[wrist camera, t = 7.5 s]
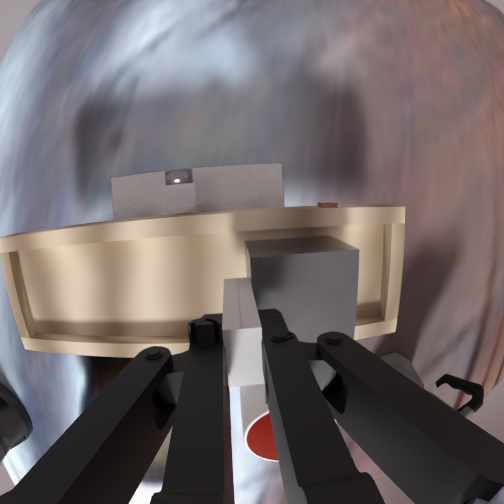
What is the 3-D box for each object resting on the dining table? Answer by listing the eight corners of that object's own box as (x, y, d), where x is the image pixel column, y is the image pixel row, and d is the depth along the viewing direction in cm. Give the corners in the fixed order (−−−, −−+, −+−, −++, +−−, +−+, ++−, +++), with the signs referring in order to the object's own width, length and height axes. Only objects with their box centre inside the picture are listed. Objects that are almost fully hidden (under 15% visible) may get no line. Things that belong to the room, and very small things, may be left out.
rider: (249, 322, 21) (255, 358, 16) (244, 240, 20) (250, 257, 15) (328, 313, 21) (353, 345, 17) (329, 235, 20) (359, 249, 15)
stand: (135, 330, 33) (104, 382, 22) (115, 178, 29) (64, 174, 18) (284, 322, 34) (307, 376, 23) (279, 164, 30) (306, 150, 19)
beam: (43, 335, 22) (26, 352, 19) (20, 228, 20) (-3, 234, 17) (376, 318, 25) (394, 335, 21) (382, 200, 22) (404, 202, 19)
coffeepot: (358, 417, 39) (403, 499, 21) (333, 386, 37) (383, 483, 19) (434, 358, 38) (502, 421, 20) (419, 320, 36) (502, 385, 18)
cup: (239, 352, 34) (244, 405, 24) (318, 349, 35) (345, 397, 25) (239, 410, 36) (243, 464, 26) (309, 406, 37) (328, 455, 27)
